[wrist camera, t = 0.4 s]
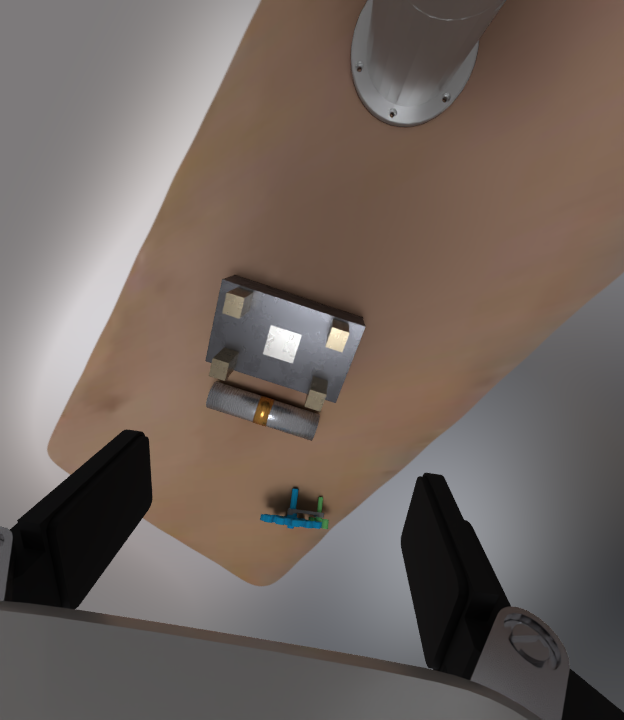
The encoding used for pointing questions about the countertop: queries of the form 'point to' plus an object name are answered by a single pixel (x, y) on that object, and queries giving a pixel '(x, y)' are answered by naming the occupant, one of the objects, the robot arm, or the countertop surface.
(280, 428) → the tube
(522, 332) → the countertop surface
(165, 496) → the countertop surface
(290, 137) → the countertop surface
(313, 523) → the gear
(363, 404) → the countertop surface
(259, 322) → the grey plate with feet
